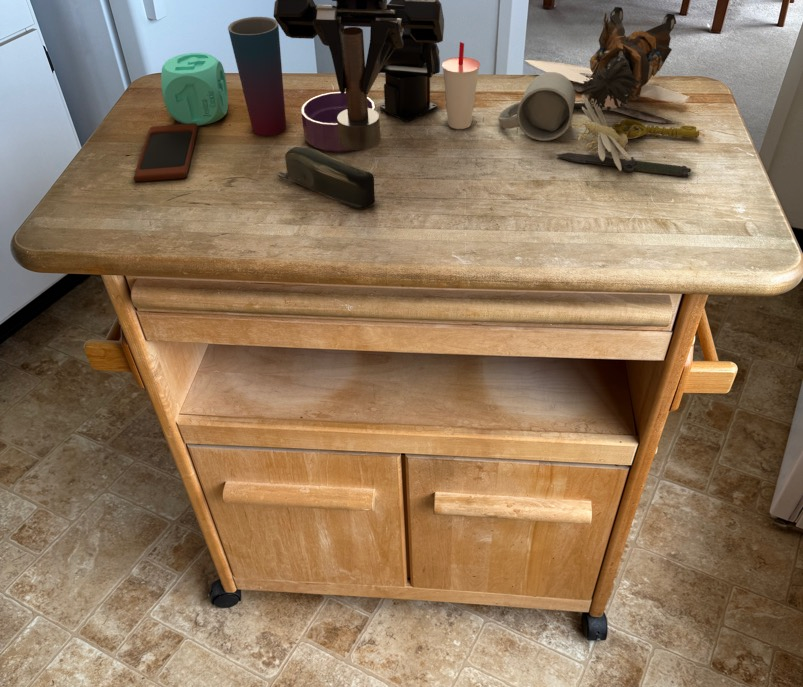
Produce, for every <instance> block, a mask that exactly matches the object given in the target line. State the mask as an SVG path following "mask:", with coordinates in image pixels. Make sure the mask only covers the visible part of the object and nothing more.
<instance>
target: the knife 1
mask: <svg viewBox="0 0 803 687" xmlns="http://www.w3.org/2000/svg"><path fill="white" fill-rule="evenodd" d="M524 61H525V62H527V63H528V64H529V65H531V66H532V67H535V68H537V69H538V70H541V71H544V72H545V73H547V72H556V73H559V74H562V75H564V76H565V77H566V78H568V79H569V80H570V81H573V82H579V83H584V82H583V81H589V80H590V79H593V78H590V77H589V78H590V79H589V78H588V77H586V75H587V76H591V75H592V74H593V72H592V71H591V69H590V67H587V66H582V65H578V64H570V63H564V62H558V61H557V62H555V61H550V60H549V61H548V60H539V59H538V60H537V59H536V60H534V59H524ZM586 79H587V80H586ZM647 84H648V83H647ZM647 84H646V85H644V86H642V87H641V92H640V95H638V96H640V97H642V98H649V99H651V100H655V101H659V102H666V103H673V104H678V105H685V104H686V103H687V102H688V101H690V99H691V96H689V95H687V94H684V93H681V92H678V91H675V90H670V89H667V88H664V87H662V86H660V85H659V86H655V85H647Z"/></svg>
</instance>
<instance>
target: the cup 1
mask: <svg viewBox="0 0 803 687" xmlns="http://www.w3.org/2000/svg"><path fill="white" fill-rule="evenodd" d="M279 27H280V26H279V24H278V22H277V21H276V19H275V18H272V17H268V16H248V17H243V18H240V19H236V20H234V21H233V22H231V23H229V25H228V26H227V31H228V34H229V39H230V43H231V46H232V50H233V55H234V59H235V64H236V68H237V71H238V75H239V80H240V84H241V88H242V92H243V96H244V101H245V105H246V110H247V113H248V117H249V121H250V125H251V130H252V133H254V134H256V135H257V136H262V137H271V136H276V135H279V134H281V133H283V132H284V131H285V130H286V129H287V119H286V118H287V117H286V105H285V93H284V92H285V91H284V79H283V68H282V67H283V66H282V65H283V64H282V55H281V53H282V52H281V41H280V40H281V39H280V29H279Z"/></svg>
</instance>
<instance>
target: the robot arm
mask: <svg viewBox="0 0 803 687" xmlns="http://www.w3.org/2000/svg"><path fill="white" fill-rule="evenodd" d="M331 1H332V2H335V5H333V4H332V5H330V4H316V2H315V1H314V0H275V1H274V7H273V15H272V16H273V19H274V20H276V21H277V22H278V26H279V27H280V29H281V30H282V32H283V33H284V35H285V36H286V37H288V38H291V39H307V40H313V39H314V38H316V37H317V36H318V38H319V40H320V42H321V44H322V45H324V46H327V47H328V48H329V51H330V55H331V60H332V65H333V69H334V73H335V77H336V81H337V85H338V86H337V87H338V90H339V92H341V93H342V94H344V93H345V92H346V88H345V76H344V64H343V52H342V40H341V31H342V30H343V29H345V27H358V28H370V33H369V45H368V49H367V50H368V51H367V56H366V60H365V72H364V78H363V93H364V94H365V95H367V96H368V95H369V93H370V91H371V89H372V87H373V85H374V83H375V81H376V80H377V78H378V75H379V74H384V80H385V83H384V84H383V98H384V103H382V104H380V105H379V109H380V110H381V111H384V112H386V113H387V114H389V115H392V116H394V117H396V118H398V119H400V120H403V121H405V122H411V121H412V120H414V119H418V118H419V117H421V116H424V115H426V114H428V113H431V112H432V111H435V110H437V109H438V104H437V103H434V102H431V78H432V77H433V76H434V75H438V74H440V72H441V58H440V49H439V46H438V44H440V43H442V42H443V40H444V31H445V18H444V12H443V6H442V3H441V2H440V0H390V1H389V2H388V0H331Z"/></svg>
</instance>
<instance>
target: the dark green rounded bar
mask: <svg viewBox="0 0 803 687" xmlns="http://www.w3.org/2000/svg"><path fill="white" fill-rule="evenodd" d="M284 158H285V159H284V160H285V167H286V173H285V172H282V171H279V172H278V173H277V177H279V178H281V179H284V180H287V181H290V182H292V183H295V184H298V185H300V186H302V187H305V188H307V189H309V190H312V191H314V192H316V193H319V194H321V195H324V196H325V197H328V198H330V199H332V200H334V201H336V202H339V203H341V204H343V205H346V206H348V207H350V208H353V209H359V210H361V209H367V208H370V207H371V206H373V205H374V204H375V203H376V196H375V195H376V194H375V176H374V174H373V173H371V172H369V171H367V170H363V169H361V168H358V167H356V166H353V165H351V164H349V163H347V162H343V161H341V160H340V159H339V160H338V159H336V158H334V157H331V156H329V155H327V154H326V153H323V152H322V151H320V150H317V149H315V148H312V147H303V146H293V147H292V148H290V149H289V150H287V151H286V153H285V155H284Z"/></svg>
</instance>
